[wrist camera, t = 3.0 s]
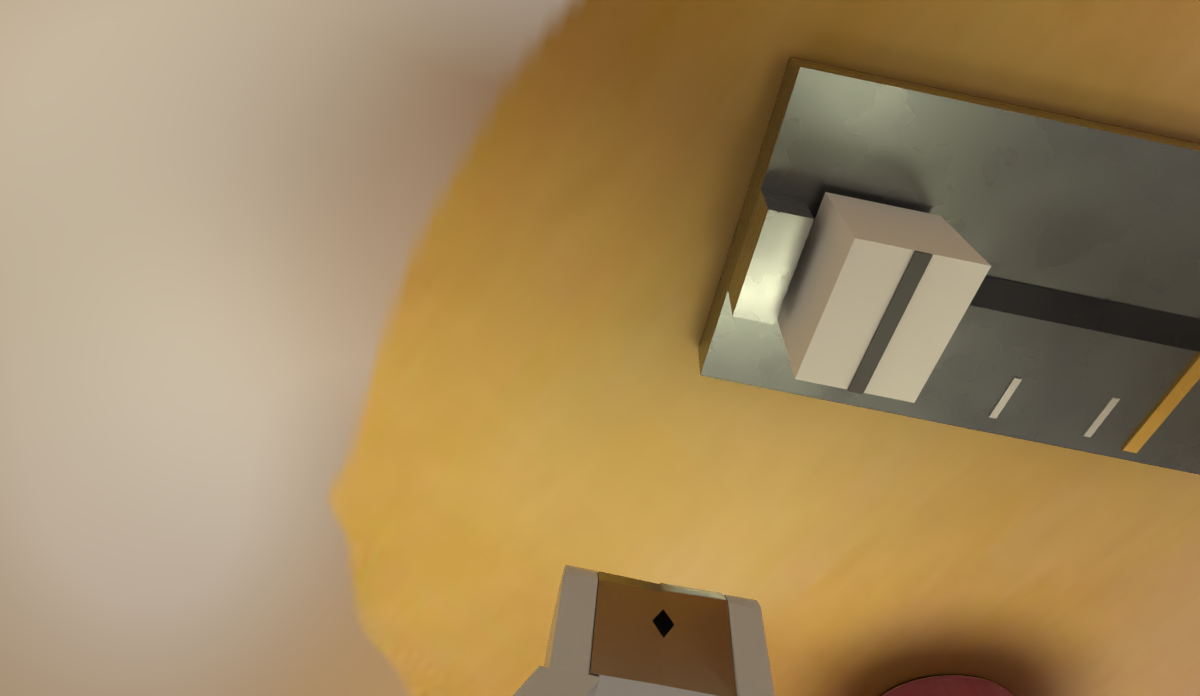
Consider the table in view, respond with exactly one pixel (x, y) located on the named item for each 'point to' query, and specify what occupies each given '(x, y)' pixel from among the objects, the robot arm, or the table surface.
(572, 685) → the robot arm
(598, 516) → the table surface
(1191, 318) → the fader console
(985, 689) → the plant pot
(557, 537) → the table surface
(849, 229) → the fader knob
